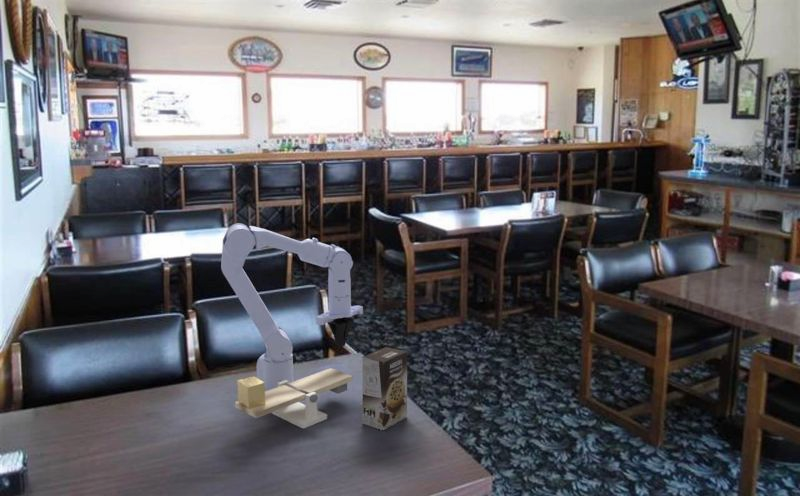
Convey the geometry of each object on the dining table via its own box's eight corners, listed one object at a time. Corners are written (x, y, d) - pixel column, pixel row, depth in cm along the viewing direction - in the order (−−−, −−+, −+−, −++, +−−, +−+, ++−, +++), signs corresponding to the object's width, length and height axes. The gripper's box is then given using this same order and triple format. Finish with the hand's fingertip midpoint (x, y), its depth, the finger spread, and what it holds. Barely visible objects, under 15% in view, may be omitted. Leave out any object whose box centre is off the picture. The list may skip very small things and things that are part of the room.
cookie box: (383, 431, 145) (383, 362, 142) (361, 423, 148) (360, 356, 145) (408, 417, 152) (408, 351, 149) (386, 410, 156) (386, 345, 153)
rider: (255, 397, 147) (238, 401, 145) (253, 376, 146) (237, 380, 144) (265, 404, 143) (248, 409, 141) (264, 382, 142) (247, 387, 140)
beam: (235, 417, 145) (234, 401, 144) (330, 381, 165) (330, 367, 164) (257, 429, 139) (256, 412, 139) (353, 390, 160) (353, 375, 159)
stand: (268, 411, 155) (267, 384, 153) (292, 402, 160) (291, 376, 158) (303, 428, 146) (302, 399, 145) (327, 418, 151) (326, 390, 150)
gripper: (328, 303, 160) (329, 356, 162) (370, 292, 170) (371, 342, 173) (309, 298, 164) (311, 349, 167) (352, 287, 175) (353, 336, 177)
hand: (340, 345), depth 170 cm, fingers closed
